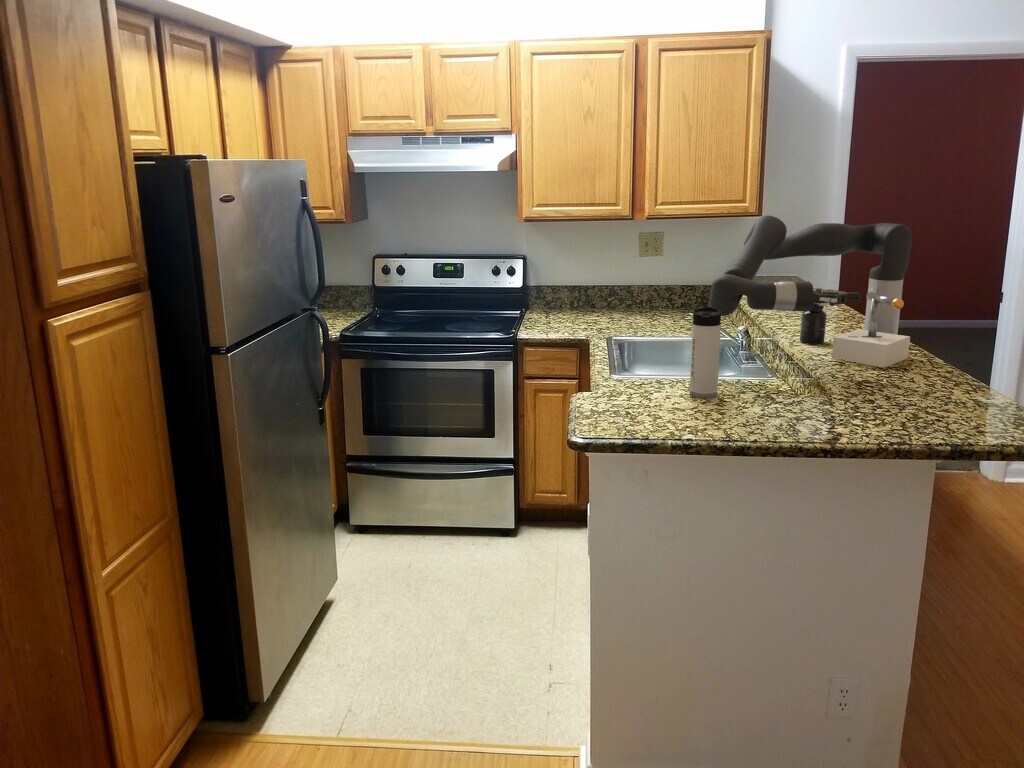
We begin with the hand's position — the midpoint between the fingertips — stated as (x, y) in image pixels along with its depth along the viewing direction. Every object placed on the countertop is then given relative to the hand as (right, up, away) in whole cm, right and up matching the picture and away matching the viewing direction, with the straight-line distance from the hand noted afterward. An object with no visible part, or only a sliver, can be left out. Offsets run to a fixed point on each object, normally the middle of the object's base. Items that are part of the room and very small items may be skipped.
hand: (860, 297), depth 201 cm
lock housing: (+8, -15, +14) cm, 22 cm away
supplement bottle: (+1, -10, +34) cm, 35 cm away
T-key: (+9, -10, +8) cm, 15 cm away
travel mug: (-43, -24, -16) cm, 52 cm away
